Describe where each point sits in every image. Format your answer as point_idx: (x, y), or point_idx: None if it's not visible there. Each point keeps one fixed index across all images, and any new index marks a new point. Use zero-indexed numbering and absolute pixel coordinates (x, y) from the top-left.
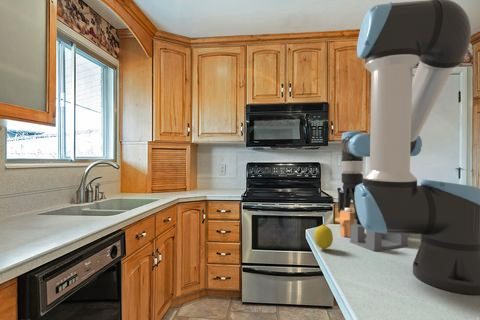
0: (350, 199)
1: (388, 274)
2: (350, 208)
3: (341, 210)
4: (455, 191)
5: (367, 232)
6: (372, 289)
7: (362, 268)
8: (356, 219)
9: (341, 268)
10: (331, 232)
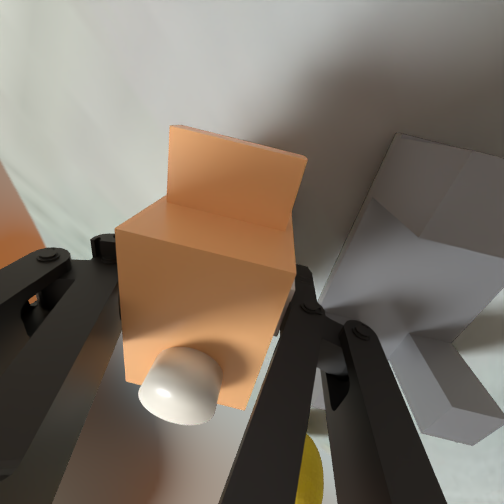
0: (26, 476)
1: (494, 457)
2: (198, 402)
3: (126, 372)
4: None
5: (421, 419)
6: (472, 500)
7: (430, 458)
8: (278, 327)
9: None
10: (320, 494)
